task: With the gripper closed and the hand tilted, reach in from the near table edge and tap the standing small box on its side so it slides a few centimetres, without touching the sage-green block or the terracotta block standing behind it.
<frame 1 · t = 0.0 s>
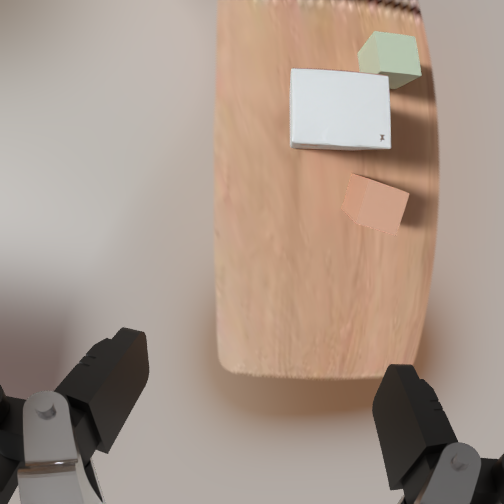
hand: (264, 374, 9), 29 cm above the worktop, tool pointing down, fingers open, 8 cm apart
small box: (323, 123, 34), on the worktop
sage block: (377, 71, 30), on the worktop
terracotta block: (363, 196, 36), on the worktop
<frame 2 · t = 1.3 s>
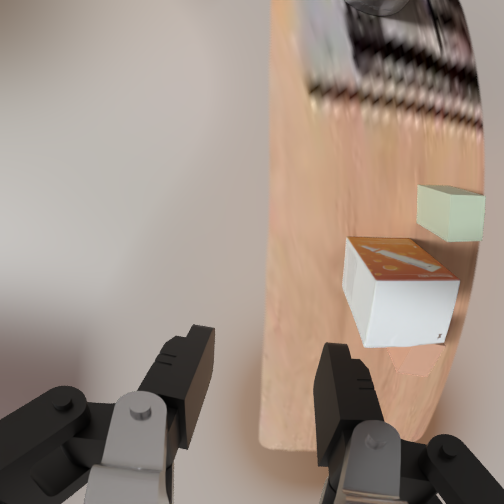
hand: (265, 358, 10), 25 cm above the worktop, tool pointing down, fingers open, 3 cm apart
small box: (375, 261, 35), on the worktop
sage block: (433, 204, 32), on the worktop
terracotta block: (401, 324, 37), on the worktop
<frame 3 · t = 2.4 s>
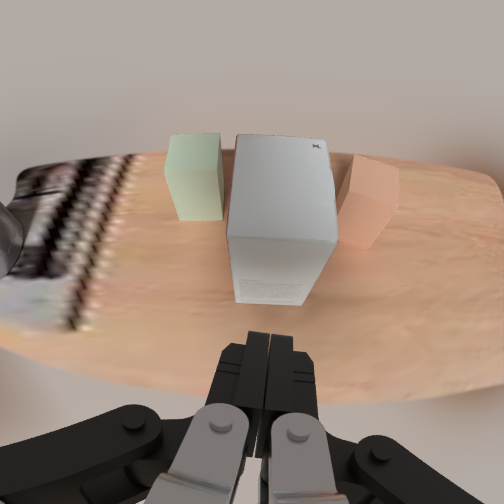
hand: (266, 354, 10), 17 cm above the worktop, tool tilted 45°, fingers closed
small box: (269, 266, 30), on the worktop
sage block: (202, 202, 33), on the worktop
terracotta block: (351, 225, 32), on the worktop
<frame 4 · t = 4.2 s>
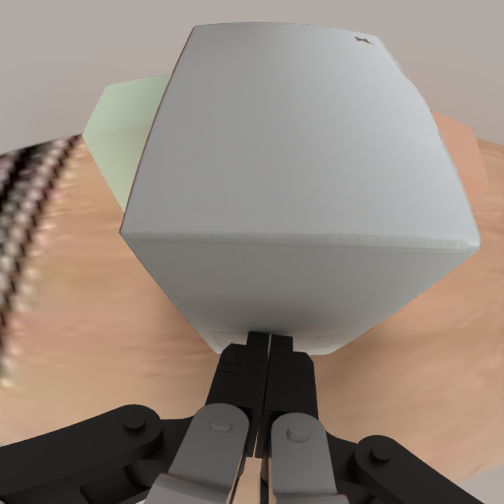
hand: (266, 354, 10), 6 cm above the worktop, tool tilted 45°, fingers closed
small box: (271, 288, 18), on the worktop, touching gripper
sage block: (164, 192, 21), on the worktop
terracotta block: (395, 220, 20), on the worktop
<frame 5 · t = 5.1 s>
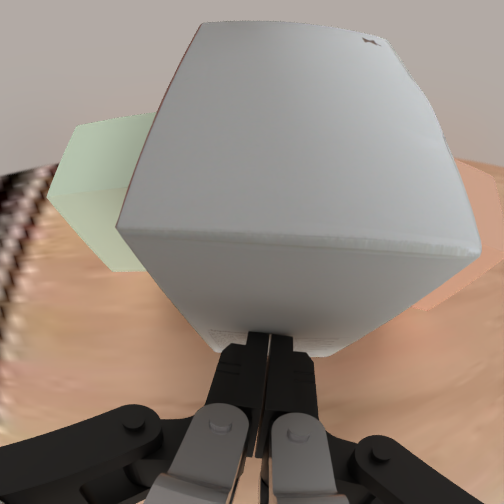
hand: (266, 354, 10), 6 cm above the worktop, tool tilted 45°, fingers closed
small box: (273, 288, 18), on the worktop, touching gripper
sage block: (149, 238, 19), on the worktop
terracotta block: (400, 270, 18), on the worktop
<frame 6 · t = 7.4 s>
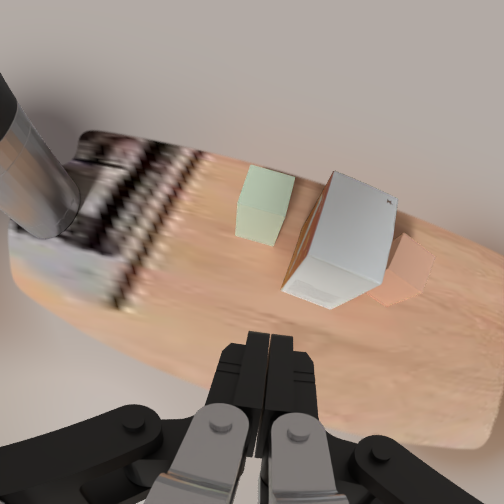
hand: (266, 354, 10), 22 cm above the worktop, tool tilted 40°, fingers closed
small box: (315, 269, 35), on the worktop
sage block: (259, 223, 36), on the worktop
terracotta block: (379, 281, 35), on the worktop
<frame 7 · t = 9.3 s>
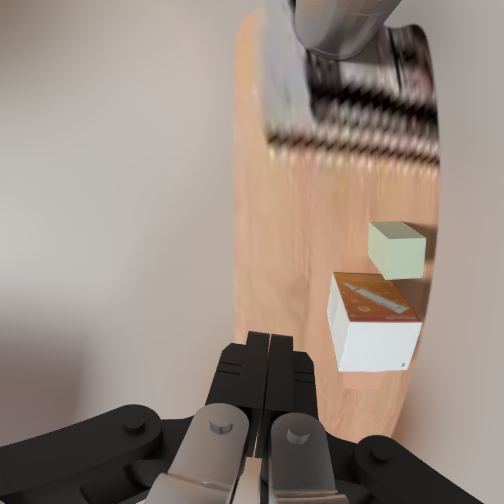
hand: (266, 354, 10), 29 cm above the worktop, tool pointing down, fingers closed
small box: (357, 293, 40), on the worktop
sage block: (384, 238, 38), on the worktop
terracotta block: (357, 343, 43), on the worktop
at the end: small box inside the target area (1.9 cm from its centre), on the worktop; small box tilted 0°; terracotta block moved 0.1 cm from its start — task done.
